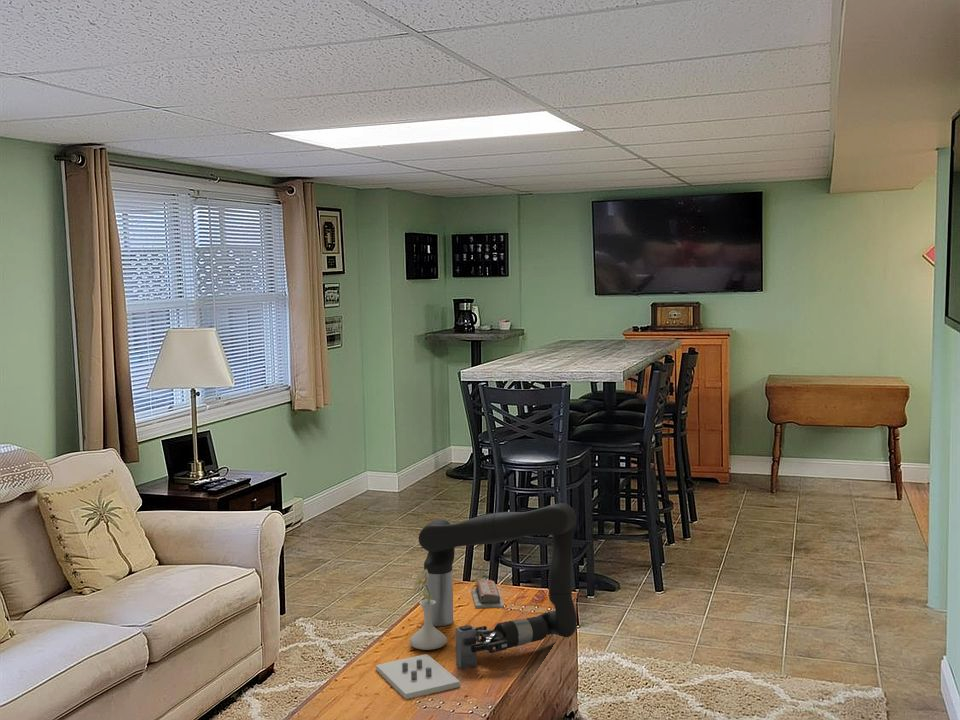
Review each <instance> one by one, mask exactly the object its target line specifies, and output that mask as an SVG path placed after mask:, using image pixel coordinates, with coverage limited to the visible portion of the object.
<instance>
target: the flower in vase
mask: <svg viewBox="0 0 960 720" xmlns="http://www.w3.org/2000/svg"><path fill="white" fill-rule="evenodd" d="M427 580H428V570H427V569H426V570H424V568H422V569H421V570H420V572H418V573H417V576H416V579H415V580H414V581H413V584H414V586H413V589H412V591H413V593H414V594H420V592H422V596H423V597H424V598H425V597H426V598H427V599H426V600H425V599H422V600H420V601H419V605H420V606H421V608H422V610H423V619H424V621H423V625H422V627H421V628H420V629H418V630H417V631H416V632H415V633H414V634H412V635H411V637H410V639H409V644H410V645H411V646H412V647H413V648H414V649H418V650H424V651H425V650H426V651H432V650H436V649H440V648H443V647H444V646H445V645H446V644H447V643H448V639H447V637H446V635H445V634H444V633H443V632H441V631H440V630H438V629H437V628H436V626H433V625H432V609H433V606H434V604H435V603H436V601H434V600H430V597H431V595H430V593H429V589H428V587H427V585H426V583H427ZM424 586H426V588H427V590H428V591H427V590H426V589H425V588H424Z"/></svg>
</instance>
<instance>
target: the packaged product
mask: <svg viewBox="0 0 960 720" xmlns="http://www.w3.org/2000/svg"><path fill="white" fill-rule="evenodd" d="M470 591H471V594H472V599H473V600H472V601H473V604H474V607H475V609H493V608H504V607H505V604H504V601H503V597H502V595H501V591H500V589H499V587H497V585H496V582H495V581H494V580H492V579H486V580H476V583H475V588H471V589H470Z"/></svg>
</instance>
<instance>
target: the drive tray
mask: <svg viewBox="0 0 960 720" xmlns="http://www.w3.org/2000/svg"><path fill="white" fill-rule="evenodd" d="M375 670H377V671H378V672H379V673H378V672H377V671H376V672H377V673H378V674H379V675H380V676H381V677H383V678H384V679H385V681H386V682H388V683H389V685H391V686H392V687H393V688H394V690H396V692H398V693H399V694H400V695H401V696H402V698H404V699H405V700H410V699H414V698H417V697H418V698H419V697H423V696H426V695H430V694H431V695H432V694H435V693H438V692H443V691H447V690H448V691H449V690H453V689H456V688H460V687H461V682H460V680H459V679H458V678H456V677H455V676H454V675H453V674H451V673H450V672H449V671H448V670H446V668H445V667H443V666H442V665H441V664H439V663H438V662H437V661H436V660H435V659H433V658H432V657H431V656H430V655H429V654H428V653H427V654H421V655H417V656H411V657H407V658H402V659H397V660H392V661H388V662H384V663H379V664H375ZM422 695H423V696H422ZM413 697H414V698H413ZM409 698H410V699H409Z"/></svg>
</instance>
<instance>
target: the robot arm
mask: <svg viewBox="0 0 960 720" xmlns="http://www.w3.org/2000/svg"><path fill="white" fill-rule="evenodd" d="M576 519H577V517H576V513H575V511H574V509H573V507H572V506H571V505H569V504H567V503H565V502H564V503H563V502H562V503H561V502H560V503H554V504H550V505H547V506H544V507H540V508H537V509H534V510H533V509H532V510H529V511H524V512H523V511H502V512H501V511H500V512H494V513H488V514H483V515H479V516H475V517H473V518H469V519H467V520H463V521H461V522H457V523H450V522H449V521H448V520H446V519H441V518H440V519H436V520H434V521H431V522H430V523H428V524H427V525H425V526H424V527H423V528H422V529H421V531H420V532H419V534H418V543H419V545H420V547H421V548H422V549H424V550H425V551H427V552H428V553H427V555H426V558H425V560H424V563H423V569H424V570H426V569H427V570H428V580H427V583H426V585H427V587H428V589H429V593H430V595H431V597H430V600H434V601H436V603H435V604H434V606H433V609H432V625H433V626H434V627H445V626H449V625H451V624H453V623H454V592H453V591H454V590H453V589H454V582H453V576H454V575H453V563H454V561H455V548H458V547H464V546H465V547H466V546H478V545H479V546H481V545H489V544H490V545H492V544H498V543H505V542H510V541H514V540H518V539H521V538H523V537H530V536H552V554H551V560H550V564H549V571H548V600H549V601H550V602H551V604H553V606H554V609H555V610H549V611H547V612H544V613H542V614H539V615H537V616H531V617H527V618H518V619H512V620H508V621H503V622H498V623H497V624H496V625H495V626H494V628H493V629H488V626H486V625H484V626H483V625H482V626H478V627H475V628H476V644H472V645H471V652H472V653H474V652H477V653H478V652H488V653H489V654H494V653H497V652H501V651H506V650H508V649H511V648H516V647H520V646H525V645H528V644H530V643H534V642H538V641H539V642H540V641H542V640H544V639H546V638H547V636H550V635H556V636H559V637H563V638H569V637H572V636H573V635H574V634H575V632H576V630H577V627H578V618H577V614H576V613H577V612H576V607H575V604H574V600H573V585H572V583H573V582H572V581H573V579H572V559H573V555H572V554H573V543H574V542H573V541H574V536H575V535H574V534H575V530H576V529H575V527H576ZM424 588H425V589H426V590H427V588H426V586H424ZM424 588H423V589H424ZM427 591H428V590H427ZM426 599H427V598H426V597H425V596H424V600H426Z"/></svg>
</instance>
